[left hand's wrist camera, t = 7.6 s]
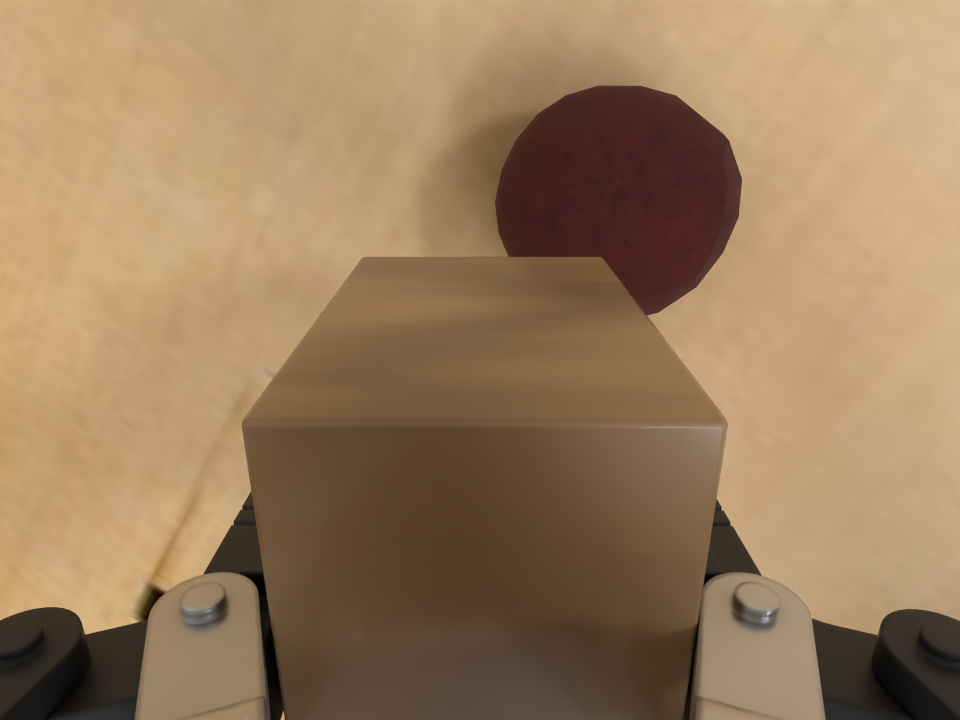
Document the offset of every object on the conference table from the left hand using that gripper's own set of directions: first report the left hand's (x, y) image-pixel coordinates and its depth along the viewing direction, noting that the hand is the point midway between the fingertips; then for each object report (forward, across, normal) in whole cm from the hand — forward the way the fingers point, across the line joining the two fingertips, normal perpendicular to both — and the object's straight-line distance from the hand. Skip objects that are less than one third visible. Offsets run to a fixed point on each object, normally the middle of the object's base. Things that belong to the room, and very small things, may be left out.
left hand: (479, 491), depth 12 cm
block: (+3, 0, 0) cm, 3 cm away
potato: (+15, -4, -3) cm, 16 cm away
